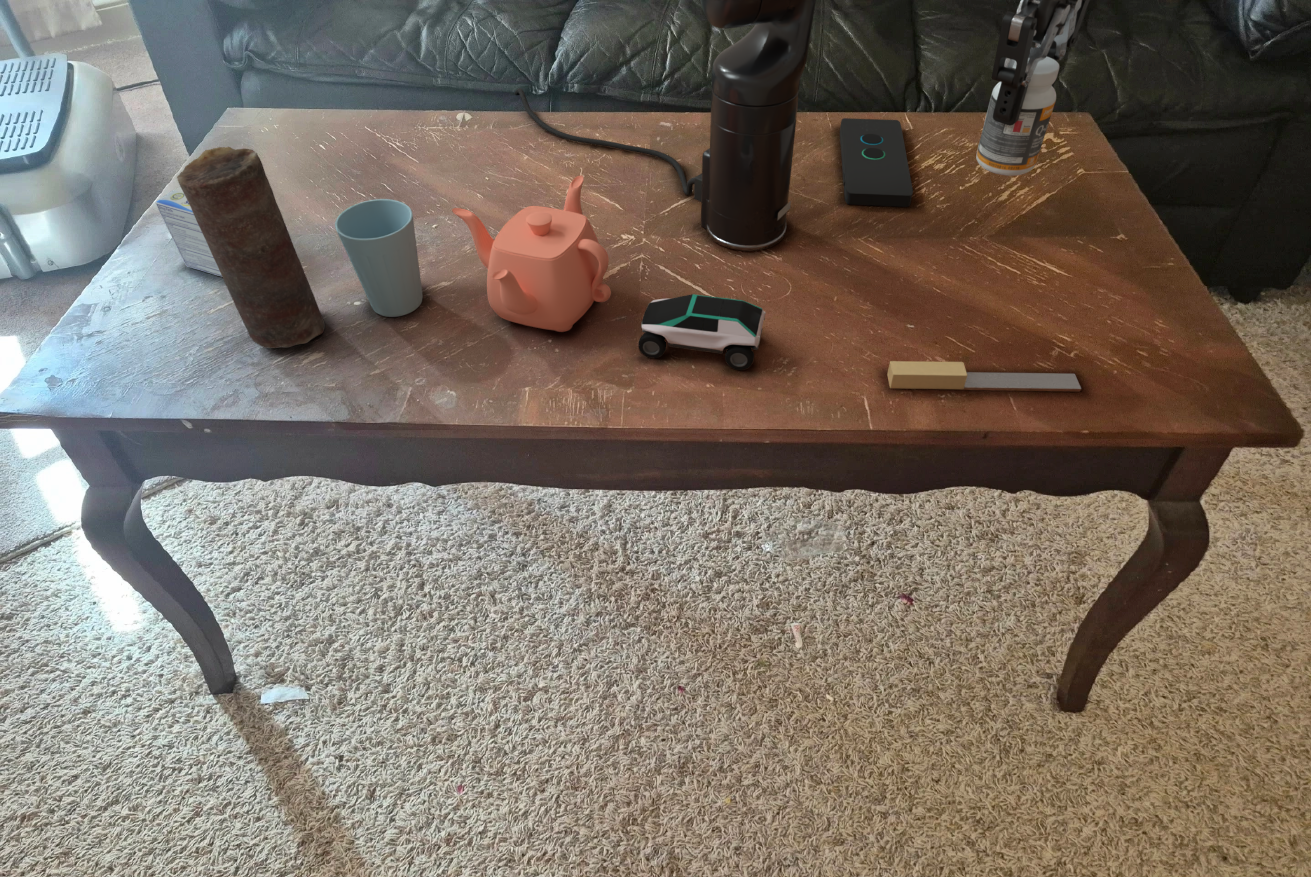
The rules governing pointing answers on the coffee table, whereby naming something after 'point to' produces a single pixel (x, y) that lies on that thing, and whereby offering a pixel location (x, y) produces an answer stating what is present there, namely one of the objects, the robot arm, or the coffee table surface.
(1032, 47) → the robot arm
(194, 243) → the medicine box
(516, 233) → the teapot
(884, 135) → the smart home device
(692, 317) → the toy car
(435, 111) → the coffee table surface
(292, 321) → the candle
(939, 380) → the knife
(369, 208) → the cup
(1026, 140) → the pill bottle
